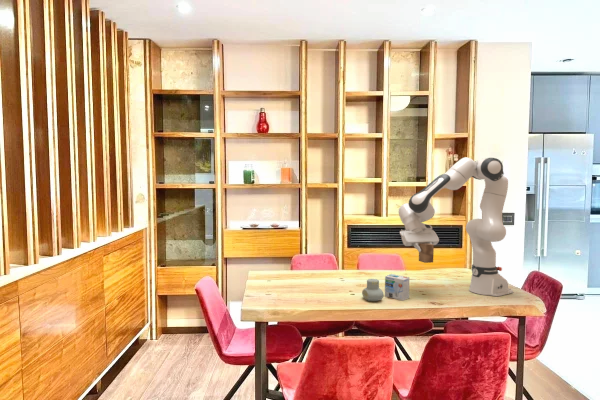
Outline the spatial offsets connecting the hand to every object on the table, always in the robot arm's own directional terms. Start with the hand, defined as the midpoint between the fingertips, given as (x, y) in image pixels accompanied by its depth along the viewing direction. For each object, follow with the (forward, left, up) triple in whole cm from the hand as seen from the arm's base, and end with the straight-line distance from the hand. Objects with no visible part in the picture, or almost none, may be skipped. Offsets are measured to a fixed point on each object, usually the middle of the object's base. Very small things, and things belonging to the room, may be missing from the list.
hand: (426, 251), depth 190 cm
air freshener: (+28, -5, -24) cm, 37 cm away
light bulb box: (+14, -5, -24) cm, 28 cm away
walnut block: (0, 0, -5) cm, 5 cm away
